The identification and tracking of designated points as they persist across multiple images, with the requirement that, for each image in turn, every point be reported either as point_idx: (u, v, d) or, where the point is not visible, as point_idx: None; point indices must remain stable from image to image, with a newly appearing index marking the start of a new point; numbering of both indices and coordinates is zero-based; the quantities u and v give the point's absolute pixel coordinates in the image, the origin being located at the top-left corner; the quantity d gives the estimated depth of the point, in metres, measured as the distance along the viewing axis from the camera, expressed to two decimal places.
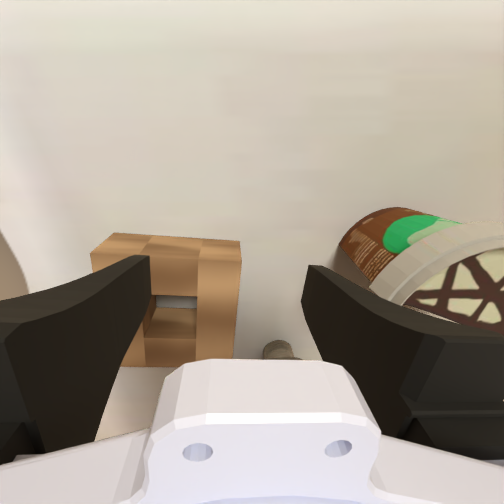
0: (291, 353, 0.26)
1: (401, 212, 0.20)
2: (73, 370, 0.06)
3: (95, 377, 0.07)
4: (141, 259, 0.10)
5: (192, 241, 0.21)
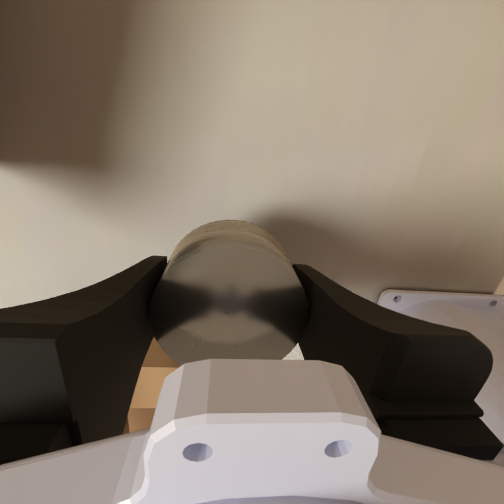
0: None
1: None
2: (106, 370, 0.06)
3: (123, 377, 0.07)
4: (160, 260, 0.10)
5: None
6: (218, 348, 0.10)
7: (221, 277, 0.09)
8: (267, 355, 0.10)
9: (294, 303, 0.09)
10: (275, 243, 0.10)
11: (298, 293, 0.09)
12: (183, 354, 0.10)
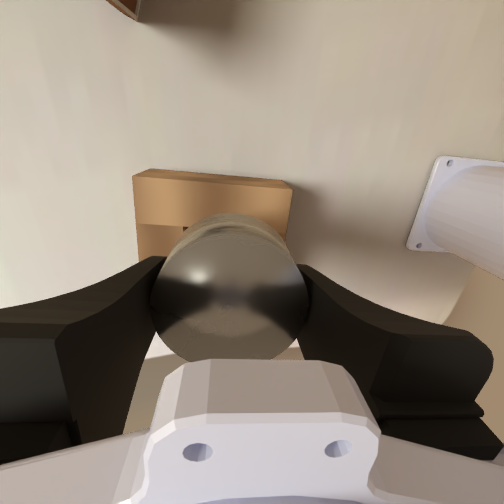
0: None
1: None
2: (106, 370, 0.06)
3: (122, 377, 0.07)
4: (160, 260, 0.10)
5: None
6: (216, 339, 0.10)
7: (225, 268, 0.09)
8: (264, 350, 0.10)
9: (295, 299, 0.09)
10: (279, 239, 0.11)
11: (300, 289, 0.09)
12: (180, 343, 0.10)
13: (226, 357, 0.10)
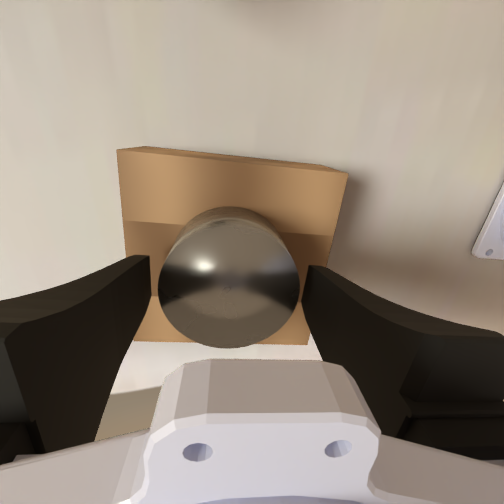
0: None
1: None
2: (73, 370, 0.06)
3: (95, 377, 0.07)
4: (141, 259, 0.10)
5: None
6: (216, 319, 0.11)
7: (225, 254, 0.10)
8: (260, 329, 0.11)
9: (288, 282, 0.10)
10: (274, 229, 0.12)
11: (292, 273, 0.10)
12: (185, 323, 0.11)
13: (226, 336, 0.11)
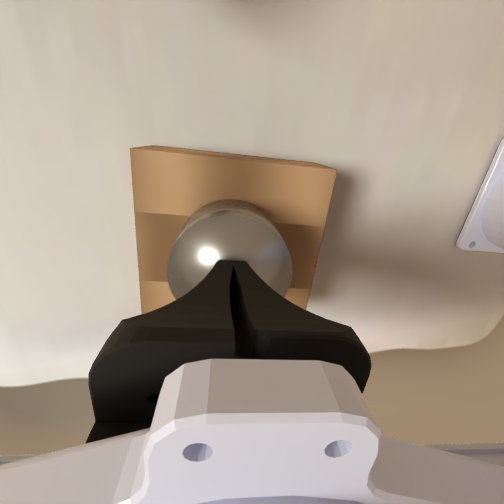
0: None
1: None
2: None
3: None
4: (232, 264, 0.11)
5: None
6: None
7: (226, 239, 0.11)
8: None
9: (282, 265, 0.12)
10: (270, 220, 0.13)
11: (285, 257, 0.12)
12: None
13: None
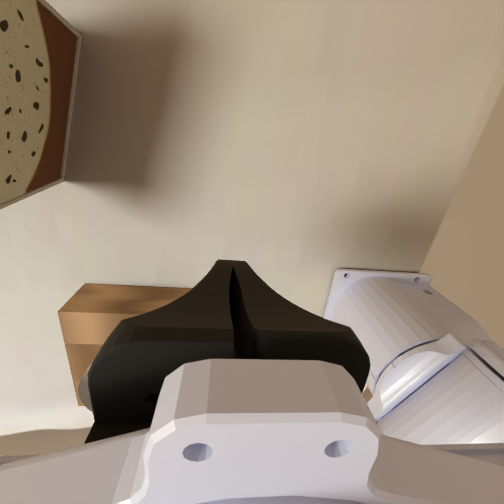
0: None
1: None
2: None
3: None
4: (231, 264, 0.11)
5: None
6: None
7: None
8: None
9: None
10: None
11: None
12: None
13: None
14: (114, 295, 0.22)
